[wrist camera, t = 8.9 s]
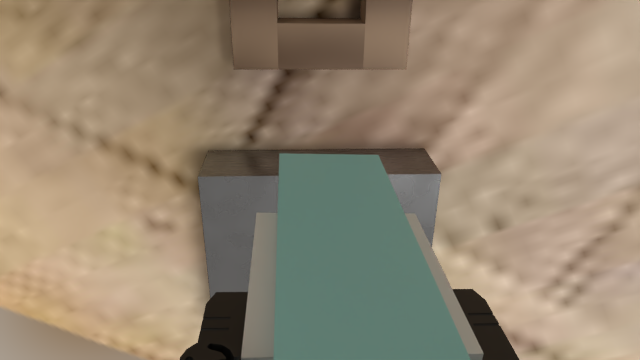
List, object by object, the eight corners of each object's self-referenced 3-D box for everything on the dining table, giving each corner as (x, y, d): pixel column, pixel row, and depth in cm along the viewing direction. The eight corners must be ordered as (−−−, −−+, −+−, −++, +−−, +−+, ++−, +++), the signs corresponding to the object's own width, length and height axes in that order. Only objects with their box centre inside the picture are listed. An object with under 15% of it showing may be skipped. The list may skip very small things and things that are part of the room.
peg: (279, 153, 20) (271, 406, 9) (378, 154, 20) (489, 401, 9) (278, 238, 21) (272, 539, 10) (369, 238, 22) (455, 531, 11)
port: (208, 150, 36) (197, 176, 32) (424, 148, 37) (441, 173, 33) (223, 321, 43) (216, 361, 39) (405, 316, 44) (417, 354, 39)
